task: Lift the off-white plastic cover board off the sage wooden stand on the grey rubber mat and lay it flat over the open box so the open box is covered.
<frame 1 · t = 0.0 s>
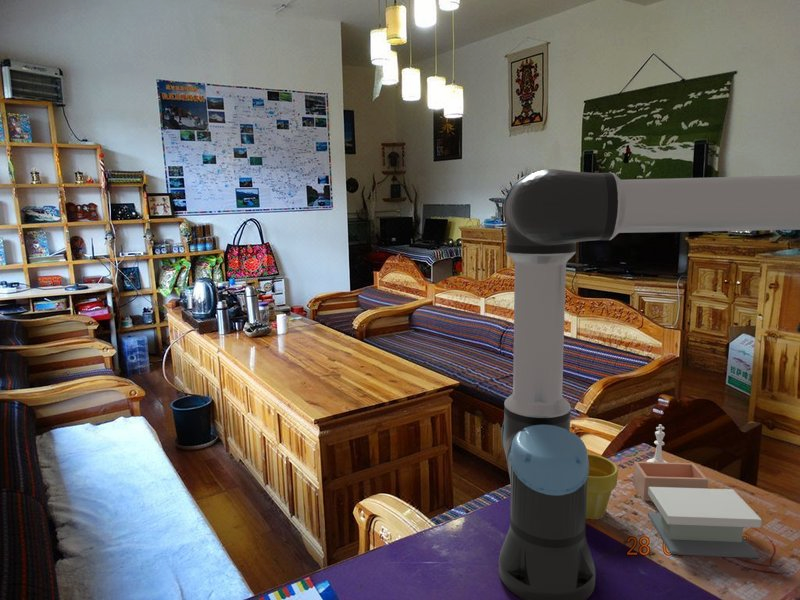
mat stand: (699, 535, 99), on the table
cover board: (701, 509, 99), point 5 cm above the table, touching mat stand
plant pot: (587, 511, 108), on the table
open box: (668, 492, 114), on the table
chess piece: (657, 467, 126), on the table
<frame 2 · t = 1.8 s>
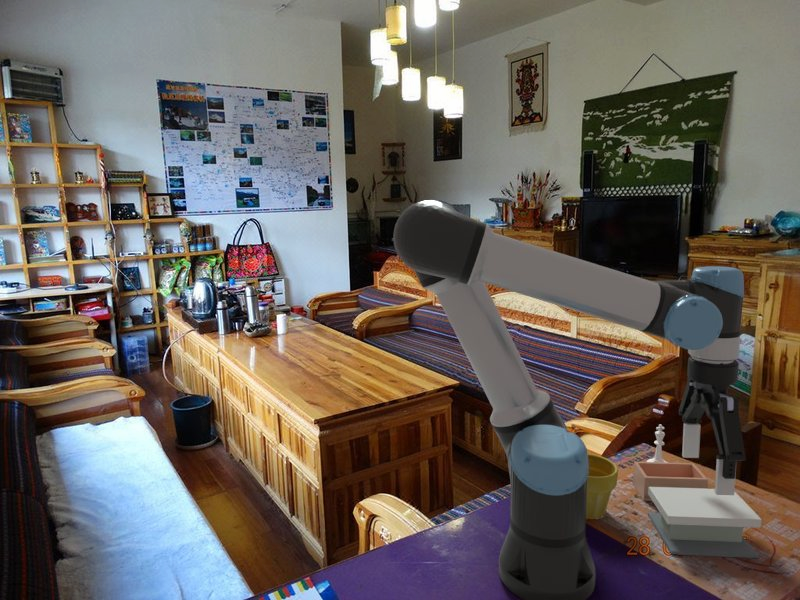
hand: (706, 474, 97), 12 cm above the table, tool pointing down, fingers open, 13 cm apart
nothing on the table moved.
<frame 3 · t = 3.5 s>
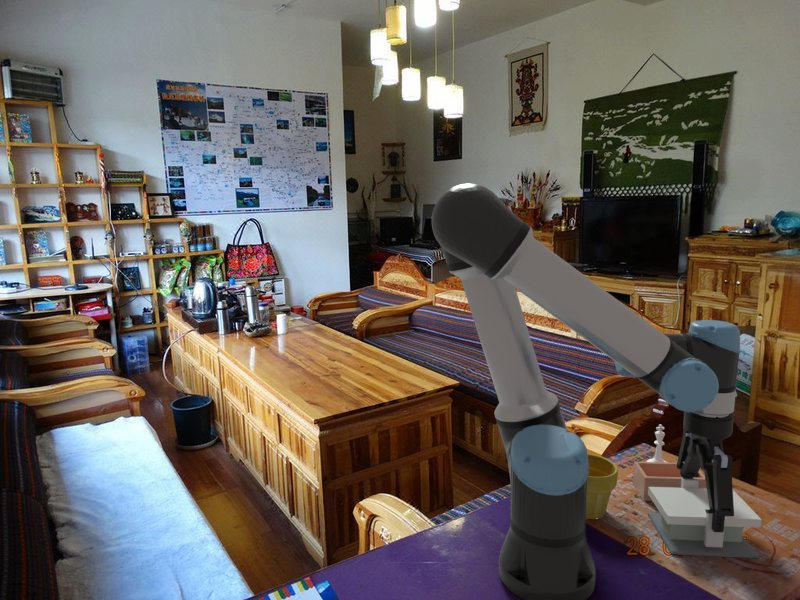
hand: (699, 527, 99), 2 cm above the table, tool pointing down, fingers closed on cover board, 10 cm apart
cover board: (701, 509, 99), point 5 cm above the table, touching gripper, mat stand
everything else where it was.
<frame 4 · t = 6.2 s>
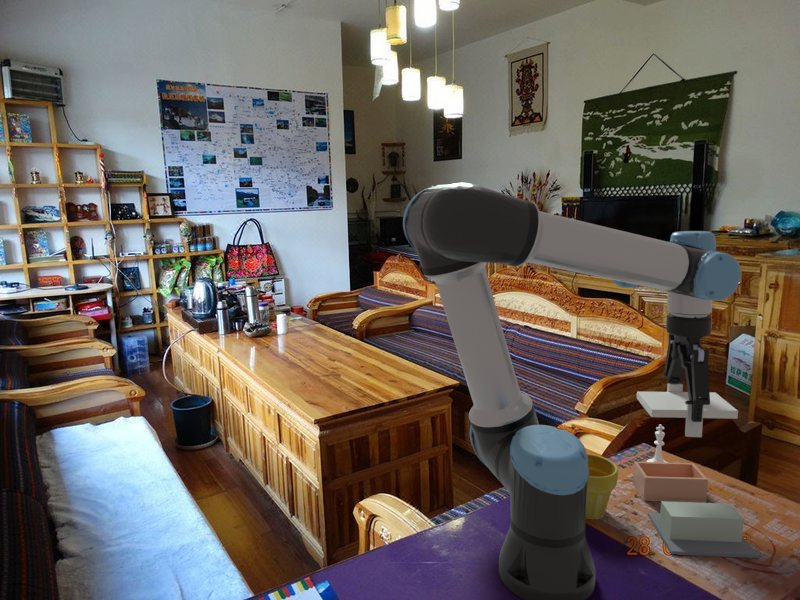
hand: (683, 424, 108), 16 cm above the table, tool pointing down, fingers closed on cover board, 10 cm apart
cover board: (684, 408, 107), point 20 cm above the table, touching gripper
everything else where it was.
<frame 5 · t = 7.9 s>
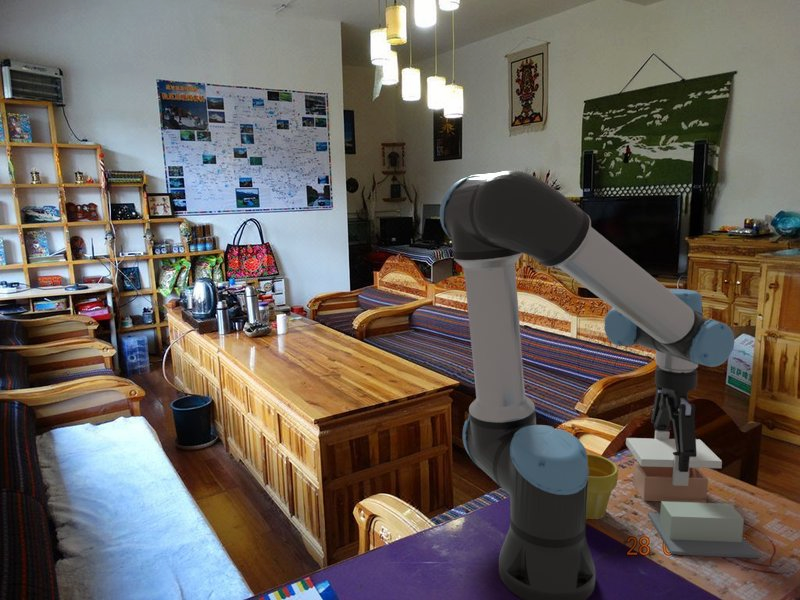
hand: (669, 471, 113), 5 cm above the table, tool pointing down, fingers closed on cover board, 10 cm apart
cover board: (671, 455, 113), point 8 cm above the table, touching gripper
everything else where it was.
when the fingers open (3 cm above the table, at t = 9.1 s): cover board drops 1 cm, resting on open box.
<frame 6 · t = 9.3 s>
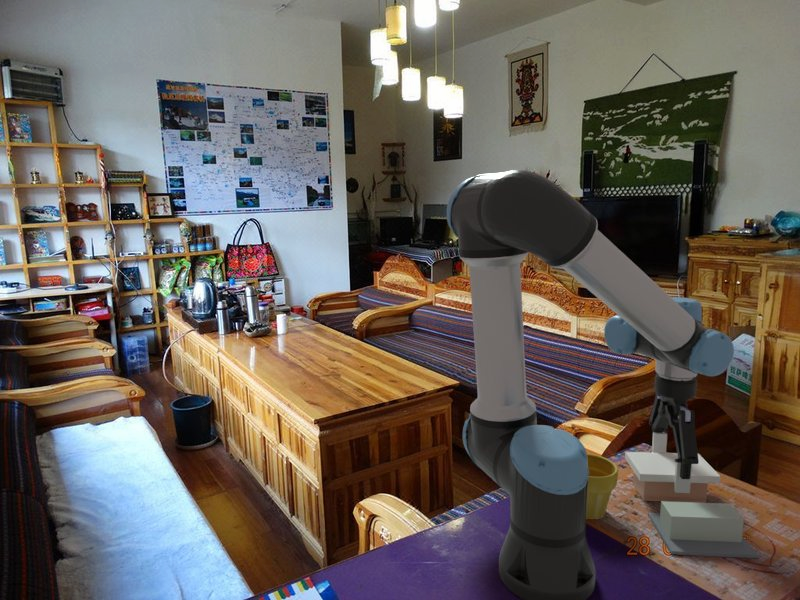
hand: (669, 476, 114), 4 cm above the table, tool pointing down, fingers open, 12 cm apart
cover board: (670, 470, 113), point 5 cm above the table, touching open box
everything else where it was.
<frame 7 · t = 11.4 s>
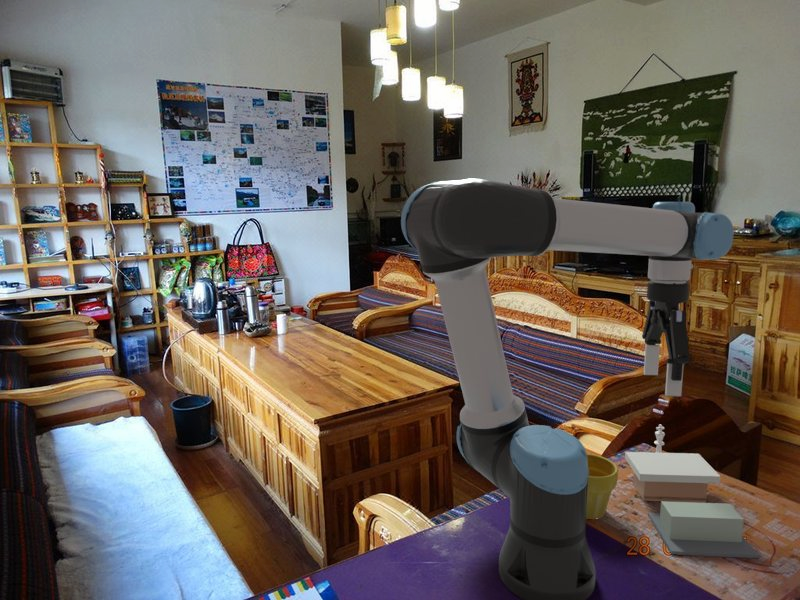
hand: (661, 384, 112), 23 cm above the table, tool pointing down, fingers open, 13 cm apart
nothing on the table moved.
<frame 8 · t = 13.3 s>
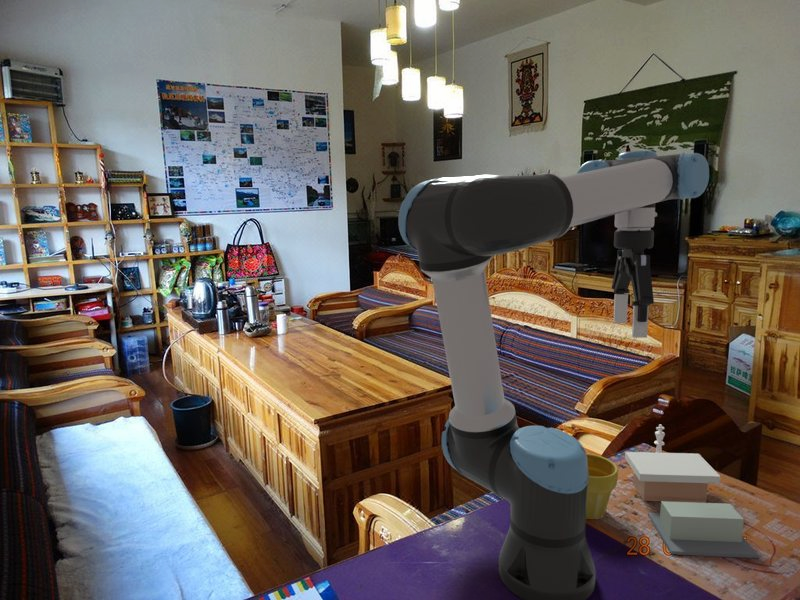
hand: (629, 329, 117), 33 cm above the table, tool pointing down, fingers open, 13 cm apart
nothing on the table moved.
at the end: cover board 0.1 cm off-centre on the open box, point 5.0 cm above the open box's base; cover board tilted 0°; the gripper is holding nothing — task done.
